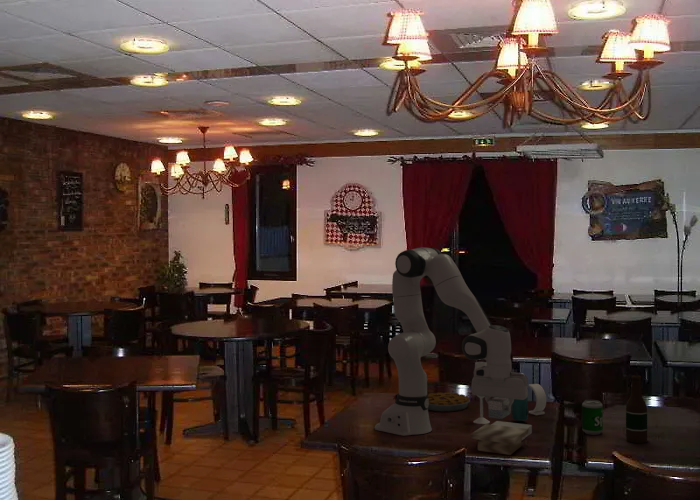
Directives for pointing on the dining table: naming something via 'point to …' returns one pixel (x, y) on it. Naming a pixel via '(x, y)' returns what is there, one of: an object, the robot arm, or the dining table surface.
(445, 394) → the pie
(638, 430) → the beer bottle
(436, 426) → the dining table surface
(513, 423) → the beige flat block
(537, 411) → the headphone stand
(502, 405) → the block
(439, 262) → the robot arm
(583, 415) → the soda can
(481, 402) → the champagne flute
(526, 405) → the beverage bottle
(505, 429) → the serving riser
